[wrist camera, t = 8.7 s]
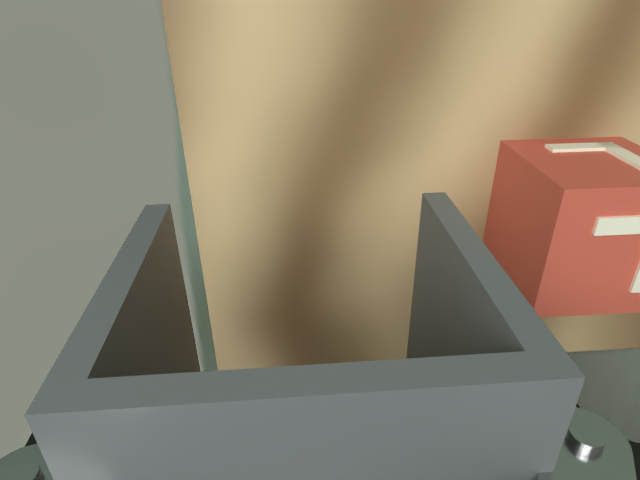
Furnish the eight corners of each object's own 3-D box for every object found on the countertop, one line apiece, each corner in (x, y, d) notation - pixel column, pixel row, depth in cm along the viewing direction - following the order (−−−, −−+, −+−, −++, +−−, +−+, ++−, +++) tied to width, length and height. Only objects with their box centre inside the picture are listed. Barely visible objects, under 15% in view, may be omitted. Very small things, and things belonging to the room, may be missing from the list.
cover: (445, 191, 10) (585, 377, 6) (420, 388, 13) (501, 621, 9) (145, 204, 10) (23, 415, 5) (187, 403, 13) (133, 656, 8)
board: (962, -36, 15) (1005, -36, 14) (761, 325, 21) (781, 340, 21) (164, -27, 13) (156, -27, 12) (220, 354, 20) (217, 371, 19)
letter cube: (622, 133, 16) (723, 181, 12) (588, 243, 18) (666, 313, 14) (501, 137, 15) (568, 187, 12) (481, 248, 17) (532, 320, 14)
